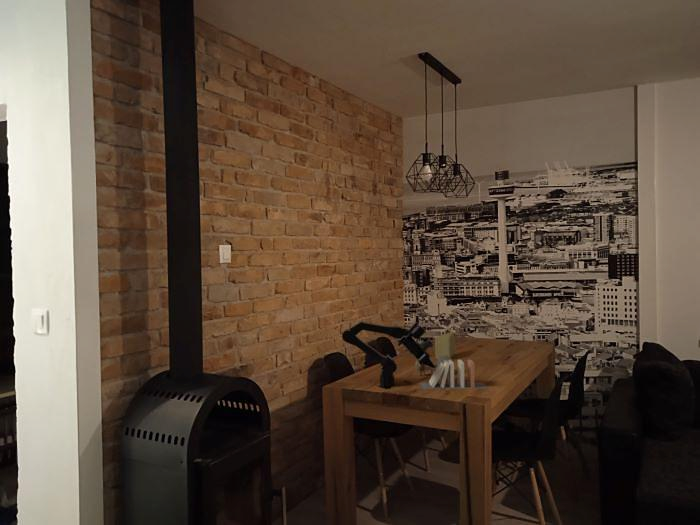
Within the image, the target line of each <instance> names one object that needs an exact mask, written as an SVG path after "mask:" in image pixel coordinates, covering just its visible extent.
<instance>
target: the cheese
mask: <svg viewBox="0 0 700 525" xmlns="http://www.w3.org/2000/svg"><path fill="white" fill-rule="evenodd" d="M455 340H456V339H455V332H454V331H449V332H447V333H444V334H439V335H436V336H435V337H434V353H435V359H436V360H437V359H438V358H439V357H440V356H443V355H446V356H449V357H451V358H452V357H454V355H455V352H456V351H455V350H456V346H455V345H456V342H455Z"/></svg>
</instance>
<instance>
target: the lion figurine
mask: <svg viewBox="0 0 700 525" xmlns="http://www.w3.org/2000/svg"><path fill="white" fill-rule="evenodd" d="M432 363H433V364H434V366H435V368H432V367H429V366H427V365H424V364H422V365H421V364H420V363H419V362H418V359H417V360H416V362H415V363H414V364H415V368H416V369H417V371H419V373H420V374H419V375H422V377H423V376H424V377H425V376H426V375H425V374H426V371H430V373H429V375H430V374H431V375H433V373H434V372H435V370H436V368H437V366H436V363H434V362H432Z"/></svg>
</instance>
